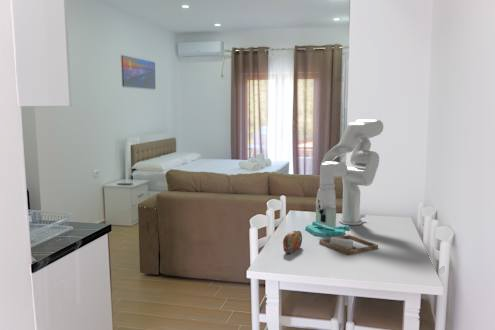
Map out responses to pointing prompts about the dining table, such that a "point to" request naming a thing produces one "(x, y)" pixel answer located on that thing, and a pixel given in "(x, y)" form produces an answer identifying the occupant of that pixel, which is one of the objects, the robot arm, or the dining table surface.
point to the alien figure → (326, 229)
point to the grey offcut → (341, 242)
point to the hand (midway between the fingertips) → (325, 221)
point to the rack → (355, 250)
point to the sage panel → (327, 217)
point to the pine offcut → (343, 247)
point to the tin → (292, 241)
